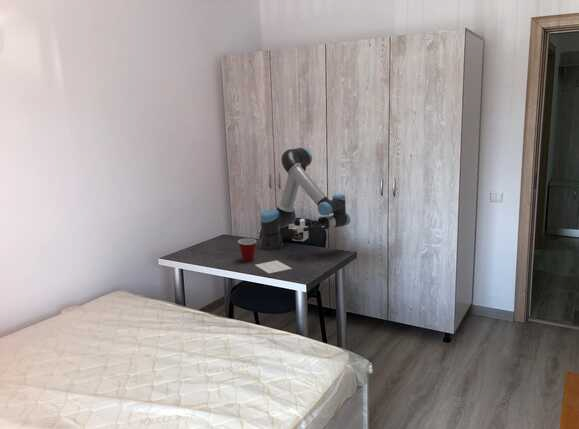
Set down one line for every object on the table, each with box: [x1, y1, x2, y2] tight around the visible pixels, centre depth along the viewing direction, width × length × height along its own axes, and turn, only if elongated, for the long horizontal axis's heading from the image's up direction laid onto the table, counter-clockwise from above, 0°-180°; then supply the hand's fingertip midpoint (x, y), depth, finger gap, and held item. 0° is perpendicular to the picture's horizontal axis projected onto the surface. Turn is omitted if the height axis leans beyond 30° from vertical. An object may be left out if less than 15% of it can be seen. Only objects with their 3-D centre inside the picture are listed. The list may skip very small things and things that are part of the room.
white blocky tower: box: [291, 218, 309, 242], centre depth 273 cm, size 7×7×12 cm
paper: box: [254, 259, 292, 274], centre depth 264 cm, size 18×14×1 cm
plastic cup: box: [237, 238, 257, 263], centre depth 277 cm, size 11×11×12 cm
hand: (293, 228), depth 270 cm, fingers closed on white blocky tower, 10 cm apart
